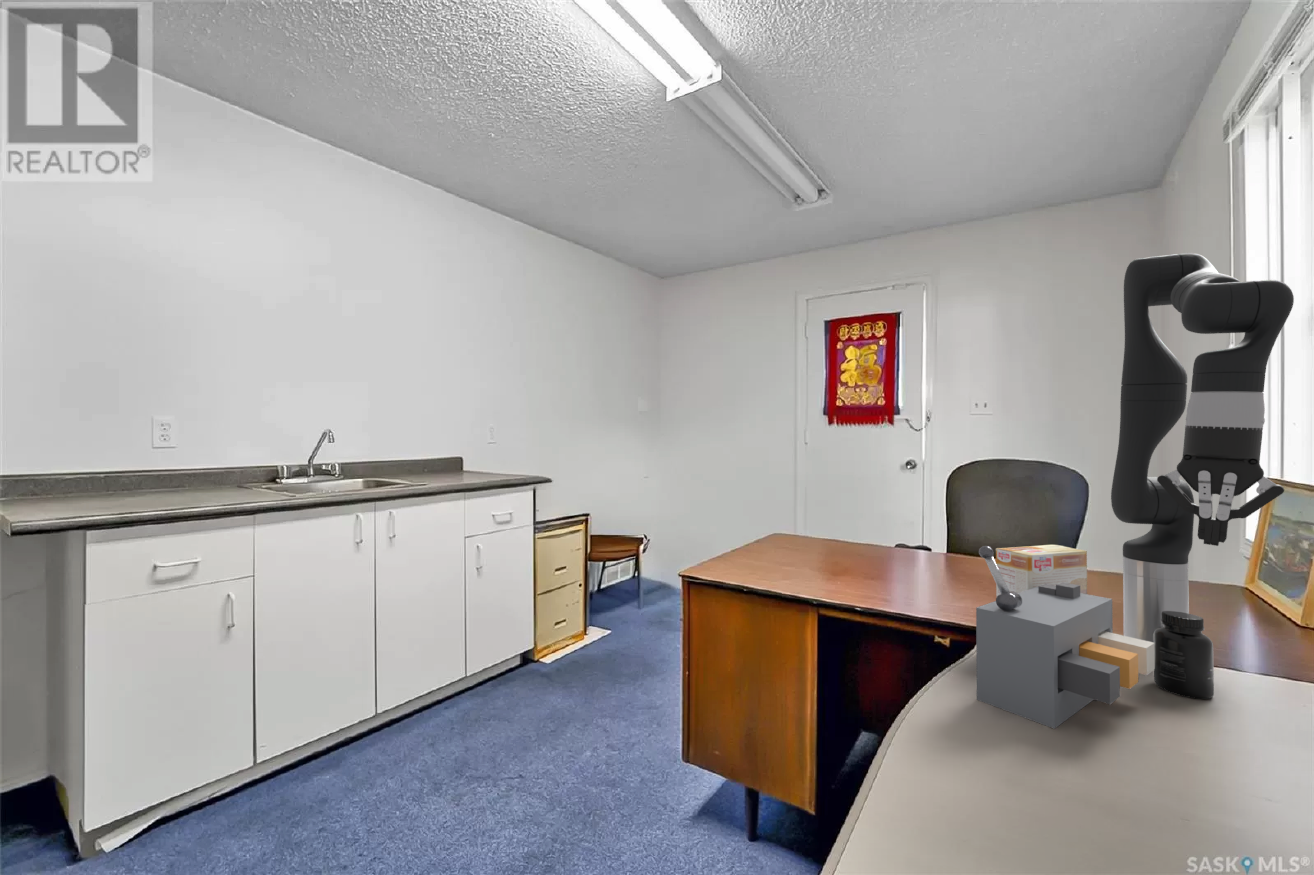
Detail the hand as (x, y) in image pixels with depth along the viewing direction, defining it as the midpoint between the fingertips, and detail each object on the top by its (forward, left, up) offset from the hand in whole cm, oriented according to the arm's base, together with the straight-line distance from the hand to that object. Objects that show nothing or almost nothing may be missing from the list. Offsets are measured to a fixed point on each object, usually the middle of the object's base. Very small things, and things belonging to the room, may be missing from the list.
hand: (1211, 544), depth 76 cm
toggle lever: (+16, -21, -11) cm, 29 cm away
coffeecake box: (-12, -22, -25) cm, 36 cm away
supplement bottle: (-9, -3, -25) cm, 27 cm away
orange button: (+9, -12, -20) cm, 25 cm away
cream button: (+1, -10, -20) cm, 22 cm away
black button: (+17, -13, -20) cm, 29 cm away
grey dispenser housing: (+8, -18, -25) cm, 32 cm away
